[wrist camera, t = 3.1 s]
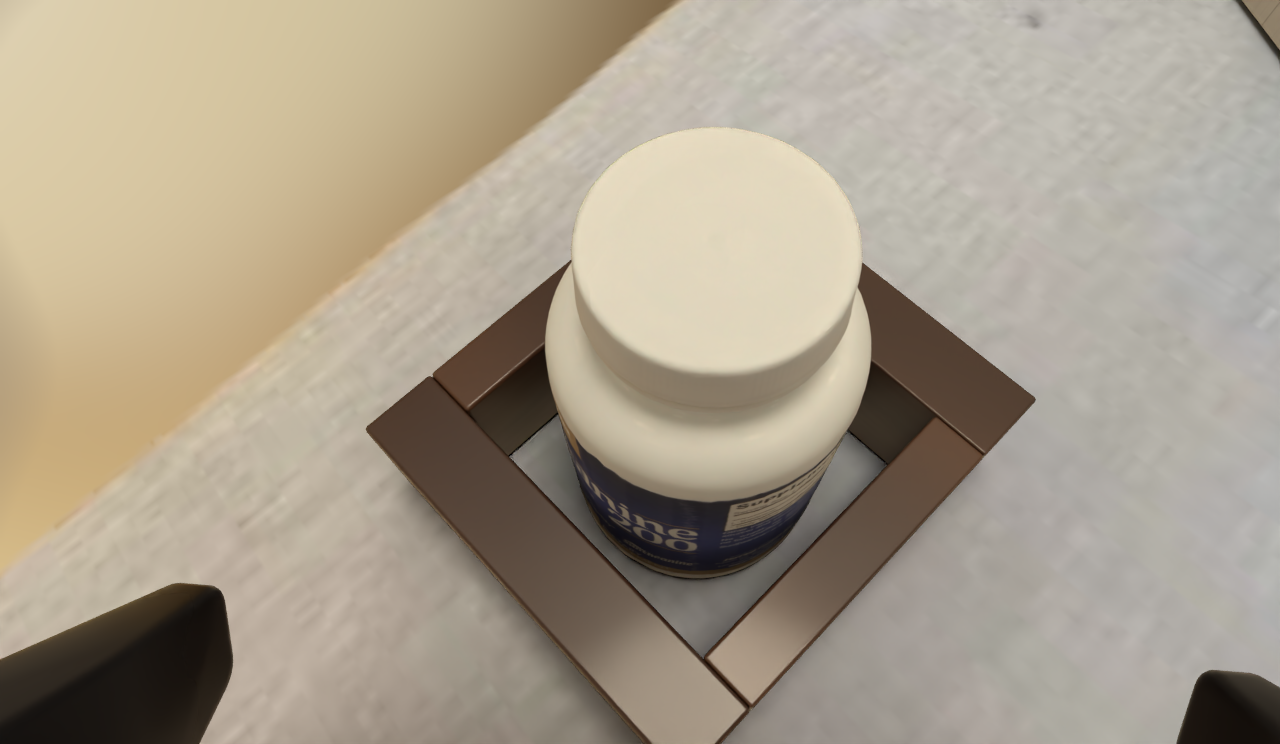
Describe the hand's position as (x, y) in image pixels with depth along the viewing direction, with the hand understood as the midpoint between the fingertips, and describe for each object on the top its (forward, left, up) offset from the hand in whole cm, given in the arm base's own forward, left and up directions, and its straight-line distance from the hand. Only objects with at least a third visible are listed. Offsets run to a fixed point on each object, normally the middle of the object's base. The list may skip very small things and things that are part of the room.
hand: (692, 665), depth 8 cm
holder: (+4, +4, -11) cm, 13 cm away
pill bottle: (+4, +4, -11) cm, 13 cm away
